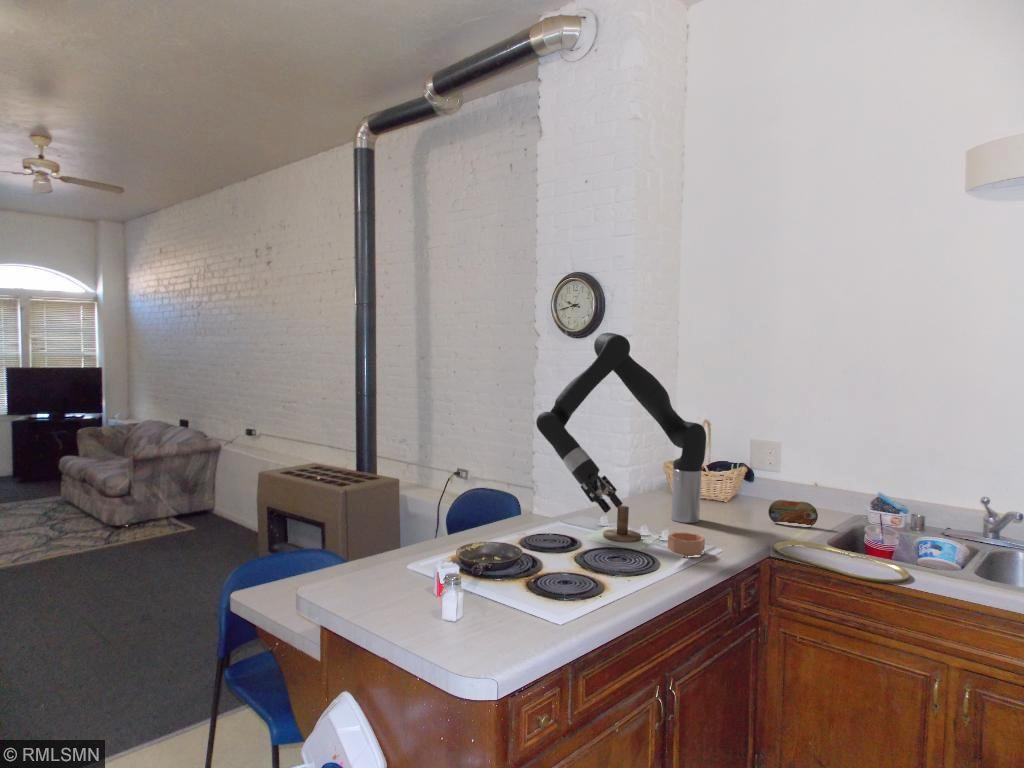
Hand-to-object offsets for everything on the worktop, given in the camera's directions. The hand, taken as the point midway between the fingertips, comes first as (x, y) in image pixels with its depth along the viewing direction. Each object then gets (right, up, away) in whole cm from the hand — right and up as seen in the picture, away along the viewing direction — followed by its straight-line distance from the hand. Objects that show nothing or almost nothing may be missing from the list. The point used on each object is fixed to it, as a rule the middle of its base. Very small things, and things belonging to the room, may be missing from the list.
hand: (614, 508), depth 188 cm
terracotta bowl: (+18, -10, -11) cm, 24 cm away
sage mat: (+2, -9, -1) cm, 10 cm away
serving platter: (+58, -12, -15) cm, 61 cm away
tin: (+64, -11, +25) cm, 69 cm away
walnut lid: (+2, -8, -1) cm, 9 cm away
